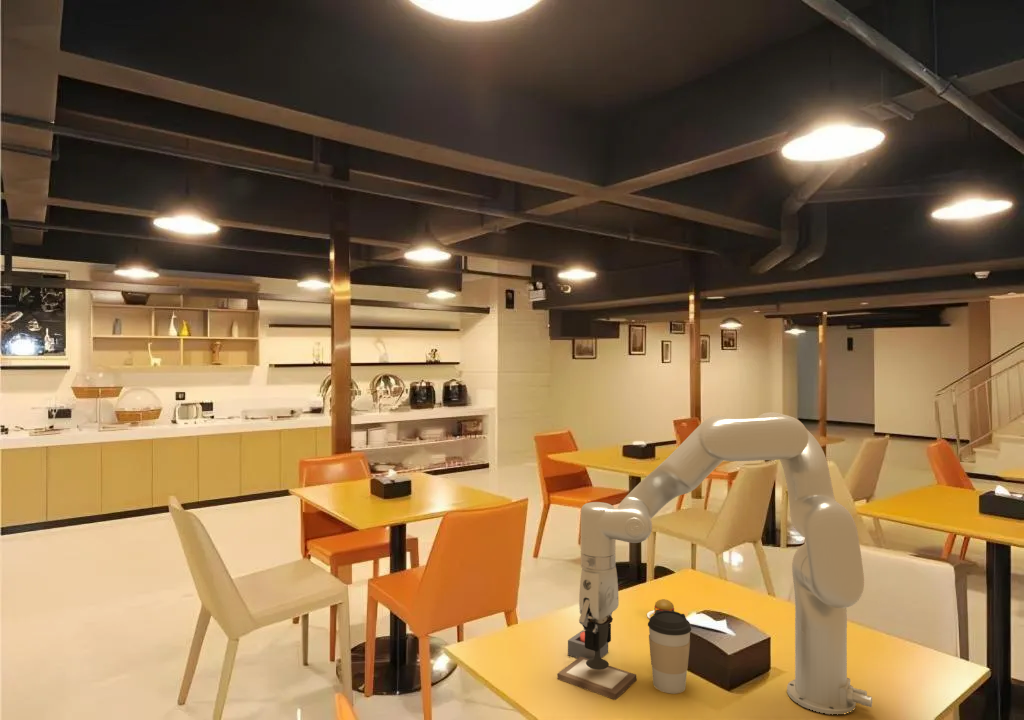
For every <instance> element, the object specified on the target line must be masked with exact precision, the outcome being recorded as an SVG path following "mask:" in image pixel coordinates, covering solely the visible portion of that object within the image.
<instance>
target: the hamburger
mask: <svg viewBox="0 0 1024 720" xmlns="http://www.w3.org/2000/svg"><path fill="white" fill-rule="evenodd" d="M662 610H669V611H675V606H674V604H673V602H672V601H670V600H669V599H666V598H664V599H663V598H662V599H659V600H656V602H655V604H654V608H653V610H650V611H648V612H647V613H646V617H647V618H648V619H650V618H651V615H654V613H655V612H657V611H662Z"/></svg>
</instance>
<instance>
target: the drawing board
mask: <svg viewBox="0 0 1024 720" xmlns="http://www.w3.org/2000/svg"><path fill="white" fill-rule="evenodd" d="M587 660H589V659H587V658H584V657H581V656H580V657H579V658H575V660H573V661H572V662H571V663H570V664H568V665H567V666H565V667H564V668H563V669H561V670H560V671H558V673H556V674H557V680H560V681H562V682H564V683H568V684H569V685H573V686H576V687H579V688H581V689H584V690H587V691H590V692H592V693H594V694H598V695H601V696H603V697H607V698H609V699H611V700H615V701H616V700H617V699H618V698H620V696H621V695H623V693H625V692H626V691H627V690H628V689H629V688H630V687H631V686H632V685H633V684H635V682H637V678H638V677H637V674H635V673H632V672H630V671H626V670H623V669H620V668H617V667H614V666H611V665H609V666H608V667H607V668H605V669H601V670H597V669H592V668H590V667H588V666H587V665H586V662H587Z"/></svg>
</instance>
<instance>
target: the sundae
mask: <svg viewBox="0 0 1024 720" xmlns="http://www.w3.org/2000/svg"><path fill="white" fill-rule="evenodd" d="M589 615H592V613H589ZM613 620H614V618H613V617H611V616H610V615H607V616H606V617H604V618H603V619H601V620H598V624H597V625H598V629H597V632H599V651H597V652H596V651H595V656H594V658H591V659H589V660H587V662H586V665H587V666H588V667H590V668H592V669H597V670H601V669H605V668H607V667H608V666H610V664H609V661H608V660H606V659H604V658H601V656H600V649H601V648H602V647H603V646H604V645H605V644H606V642H607V638H608V630H609V624H612V622H613ZM589 622H591V623H592V624H593V623H594V620H592V619H589Z"/></svg>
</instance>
